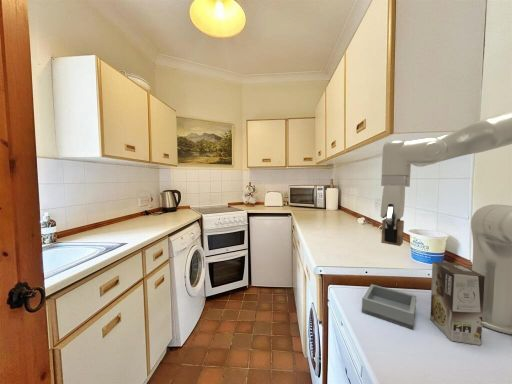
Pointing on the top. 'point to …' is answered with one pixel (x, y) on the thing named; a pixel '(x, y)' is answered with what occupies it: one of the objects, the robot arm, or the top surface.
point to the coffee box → (457, 302)
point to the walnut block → (399, 233)
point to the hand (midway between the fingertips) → (392, 239)
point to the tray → (390, 305)
